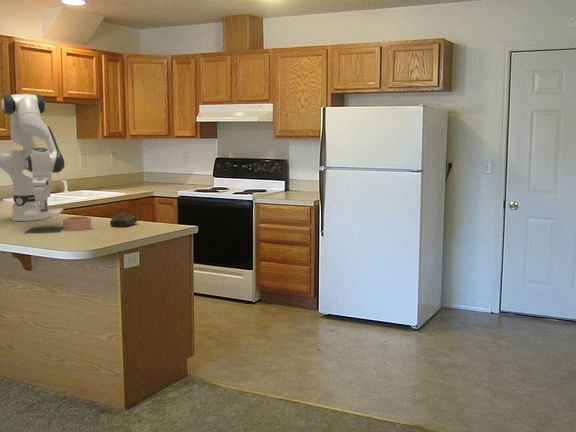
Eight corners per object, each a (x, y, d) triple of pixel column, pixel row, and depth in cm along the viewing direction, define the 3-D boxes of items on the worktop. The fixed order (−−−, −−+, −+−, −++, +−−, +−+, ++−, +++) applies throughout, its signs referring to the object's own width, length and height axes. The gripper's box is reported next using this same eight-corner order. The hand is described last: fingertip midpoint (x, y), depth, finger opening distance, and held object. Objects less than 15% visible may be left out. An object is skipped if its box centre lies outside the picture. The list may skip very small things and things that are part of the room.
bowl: (66, 228, 332) (66, 216, 331) (92, 227, 334) (92, 216, 333) (62, 232, 319) (61, 220, 318) (89, 231, 321) (89, 219, 321)
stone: (108, 227, 336) (107, 216, 335) (122, 221, 349) (122, 210, 348) (125, 229, 333) (124, 218, 332) (139, 223, 346) (138, 212, 345)
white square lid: (30, 210, 330) (30, 201, 329) (63, 210, 332) (63, 200, 332) (23, 215, 314) (23, 205, 313) (58, 214, 317) (57, 204, 316)
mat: (31, 228, 332) (31, 227, 332) (66, 227, 335) (66, 226, 335) (23, 234, 313) (23, 233, 313) (59, 233, 316) (59, 232, 316)
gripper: (39, 178, 330) (41, 205, 332) (31, 183, 310) (32, 211, 313) (52, 178, 331) (54, 205, 333) (45, 182, 311) (46, 211, 314)
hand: (43, 208), depth 323 cm, fingers closed on white square lid, 3 cm apart
